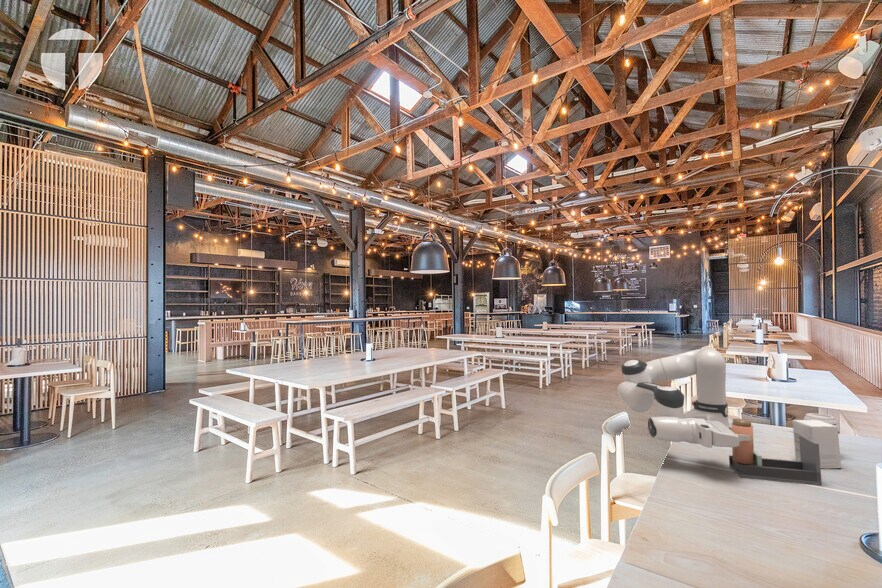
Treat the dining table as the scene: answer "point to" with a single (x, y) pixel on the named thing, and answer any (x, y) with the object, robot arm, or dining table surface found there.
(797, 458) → the supplement box
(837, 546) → the dining table surface
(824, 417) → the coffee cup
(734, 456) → the jar
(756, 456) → the pusher plate
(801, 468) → the tray
